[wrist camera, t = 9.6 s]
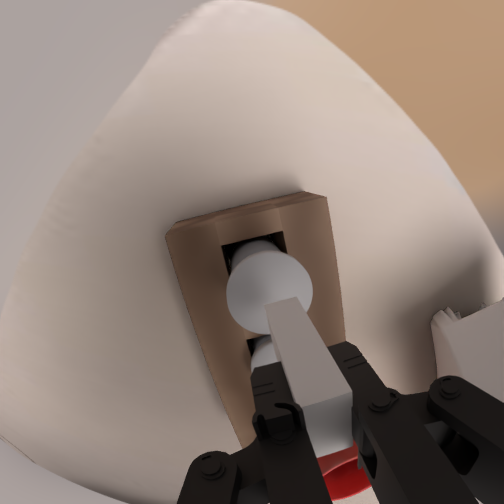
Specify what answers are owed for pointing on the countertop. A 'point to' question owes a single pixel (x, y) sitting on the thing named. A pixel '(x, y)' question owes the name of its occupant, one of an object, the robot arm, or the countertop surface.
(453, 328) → the tissue box
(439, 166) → the countertop surface
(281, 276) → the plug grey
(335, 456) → the flower pot
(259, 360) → the plug grey mid
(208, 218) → the walnut block
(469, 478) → the robot arm
